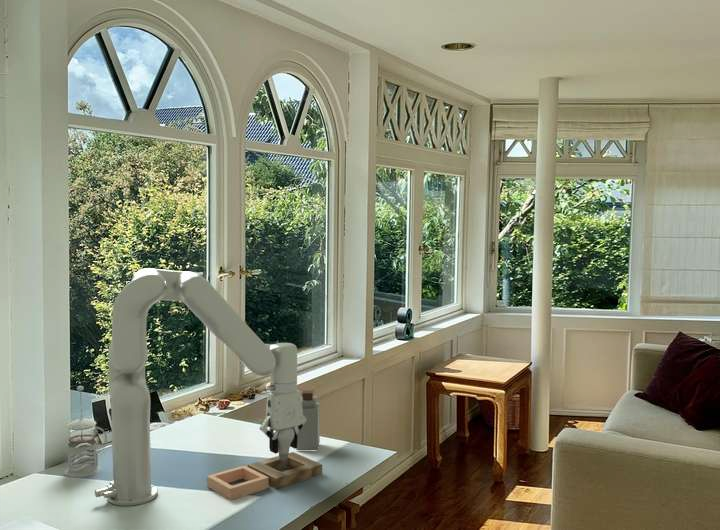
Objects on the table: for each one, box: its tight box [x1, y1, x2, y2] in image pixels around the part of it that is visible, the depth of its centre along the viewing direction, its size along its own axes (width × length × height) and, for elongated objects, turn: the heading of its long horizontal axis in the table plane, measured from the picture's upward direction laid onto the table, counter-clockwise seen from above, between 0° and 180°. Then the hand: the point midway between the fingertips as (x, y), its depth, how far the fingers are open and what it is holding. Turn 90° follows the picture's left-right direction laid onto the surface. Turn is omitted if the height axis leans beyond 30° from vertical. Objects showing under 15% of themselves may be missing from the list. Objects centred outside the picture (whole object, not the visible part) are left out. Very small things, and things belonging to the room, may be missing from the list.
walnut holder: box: [246, 451, 323, 490], centre depth 206 cm, size 16×14×3 cm
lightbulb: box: [273, 428, 295, 462], centre depth 205 cm, size 6×6×11 cm
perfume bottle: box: [295, 389, 321, 451], centre depth 228 cm, size 7×7×18 cm
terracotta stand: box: [206, 464, 270, 501], centre depth 197 cm, size 12×12×3 cm
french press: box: [64, 385, 108, 478], centre depth 208 cm, size 10×12×25 cm
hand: (283, 449), depth 205 cm, fingers closed on lightbulb, 5 cm apart
